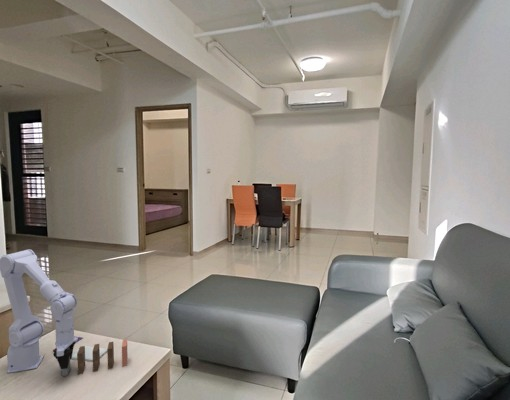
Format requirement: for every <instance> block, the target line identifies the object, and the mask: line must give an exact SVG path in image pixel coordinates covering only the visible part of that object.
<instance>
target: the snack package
mask: <svg viewBox="0 0 510 400" xmlns="http://www.w3.org/2000/svg"><path fill="white" fill-rule="evenodd" d="M74 337H76V336H75V335H74ZM77 337H78V340H77V341H76V342H75V344H77V343H78V342H79V341H81V340H82V339H83V338H84V337H81V336H77ZM56 350H57V348H56V347H55V348H54V349H52V351H53V352H54V351H56Z"/></svg>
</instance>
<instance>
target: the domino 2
mask: <svg viewBox="0 0 510 400" xmlns="http://www.w3.org/2000/svg"><path fill="white" fill-rule="evenodd" d="M85 346H86V345H81V346H79V347H78V348H79V351H78V353H77V360H76V361H77V363H76V364H77V375H83V374H84V371H85V368H86V361H85Z"/></svg>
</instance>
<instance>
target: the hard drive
mask: <svg viewBox="0 0 510 400" xmlns="http://www.w3.org/2000/svg"><path fill="white" fill-rule="evenodd" d="M84 346H85V362H88V363H89V362H90V363H93V348H94V346H88V345H87V346H86V345H84ZM79 348H80V347H78V348H77V349H76V350H74V351H73V353H72V358H71V360H74V361H77V353H78V351H79ZM99 350H100V359H101V358H103V357H104V356H105V355H106V354H107V348H105V347H99Z"/></svg>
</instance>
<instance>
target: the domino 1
mask: <svg viewBox="0 0 510 400" xmlns="http://www.w3.org/2000/svg"><path fill="white" fill-rule="evenodd" d="M69 349H70V347H68V348H67V350H69ZM70 369H71V360H70V357H69V364H68V368H66V369H61V373H62V375H61V376H62V377H65V376H68V374H69V372H70Z"/></svg>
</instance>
